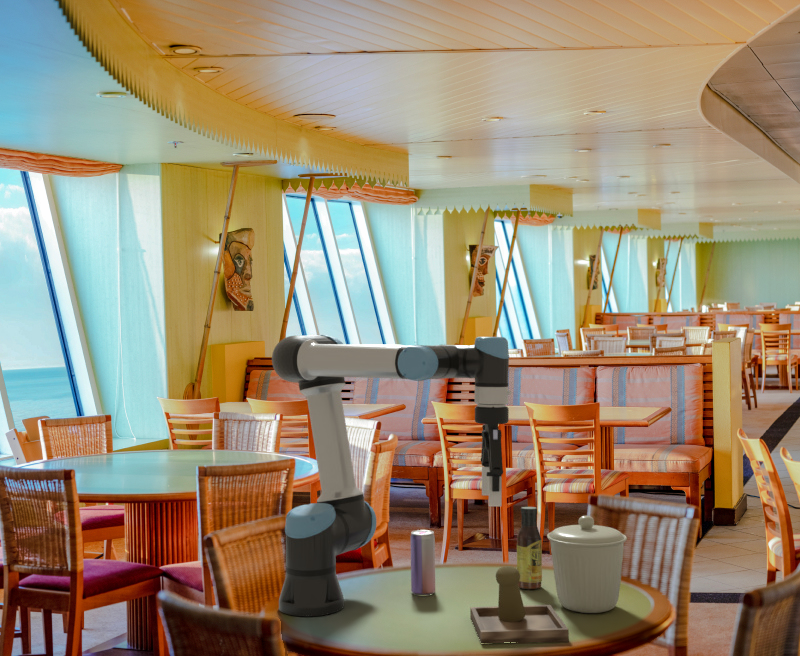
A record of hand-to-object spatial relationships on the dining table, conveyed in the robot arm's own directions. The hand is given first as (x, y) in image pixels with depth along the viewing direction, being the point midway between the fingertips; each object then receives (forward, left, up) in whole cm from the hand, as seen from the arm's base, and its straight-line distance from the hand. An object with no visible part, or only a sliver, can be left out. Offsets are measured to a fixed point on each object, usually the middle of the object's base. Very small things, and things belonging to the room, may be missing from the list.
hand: (491, 500), depth 205 cm
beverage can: (-14, +22, -26) cm, 37 cm away
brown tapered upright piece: (+4, -4, -25) cm, 25 cm away
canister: (+23, +6, -26) cm, 36 cm away
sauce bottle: (+13, +25, -26) cm, 39 cm away
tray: (+4, -9, -26) cm, 28 cm away
